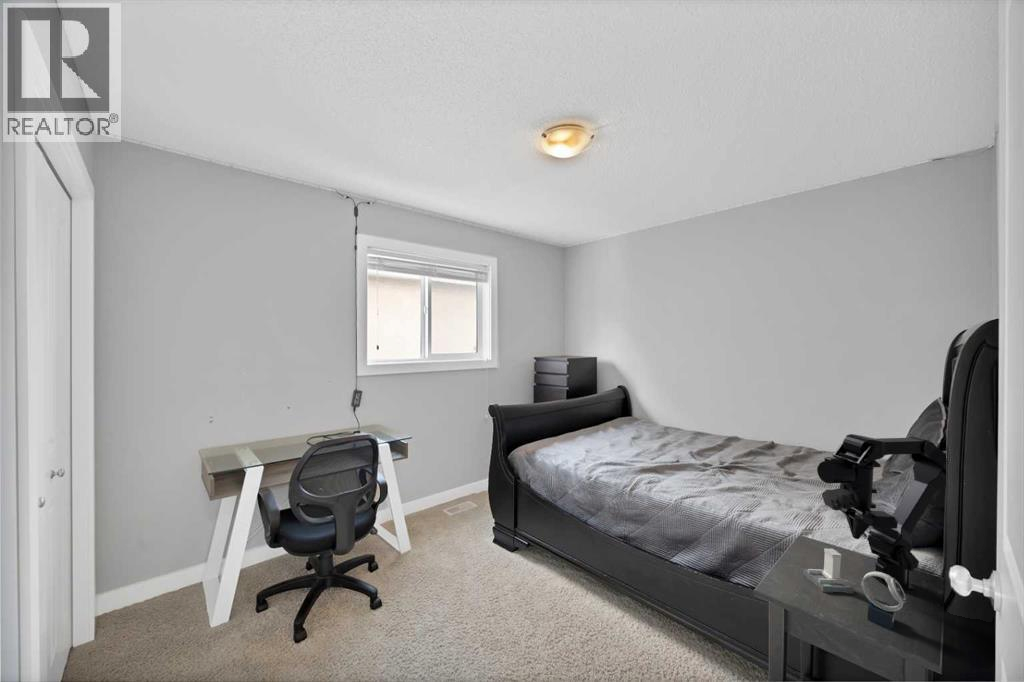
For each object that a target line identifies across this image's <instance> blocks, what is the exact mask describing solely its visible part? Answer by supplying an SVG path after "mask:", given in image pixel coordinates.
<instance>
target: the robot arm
mask: <svg viewBox="0 0 1024 682" xmlns="http://www.w3.org/2000/svg"><path fill="white" fill-rule="evenodd" d="M946 454H947V453H945V452H944V451H943V450H941V448H938V447H937V446H936V444H935V443H934V442H932V441H931V440H930V439H925V438H920V437H916V436H909V437H888V438H887V437H883V438H882V437H881V438H877V437H876V438H874V437H870V436H865V435H860V434H853V433H849V434H847V435H846V436H845V437H844V438H843V440H842V441H841V443H840V444H839V445H838V446H837V448H836V450H835V451H834V452H833V454H832V457H831V456H825V457H824V459H823V461H821V462H820V463H819V464H818V465H817V468H816V472H817V475H818V477H819V479H820V480H821V481H822V482H823V483H825V484H839V485H840V486H839V487H838V488H834V489H825V490H824V491H823V492H821V496H822V500H823V502H824V506H827V507H829V508H831V509H832V510H834V511H840V512H841V513H842V514H843V515H844V516H845V518H846V520H847V524H848V527H849V529H850V530H849V531H850V532H851V536H852V538H853V539H855V540H859V539H860V538H861V537H862V536H863V535H864V534H865V532H866V531H867V529H869V527H872V528H871V530H869V531H868V532H867V533H868V536H867V541H868V545H869V547H870V553H871V554H874V555H875V556H877V557H876V558H877V559H876V563H875V567H874V568H875V570H874V571H877V572H882V573H885V574H887V575H890V576H891V577H892V578H895V579H896V580H897V581H898V582H899V584H900V585H901V587H902V589H903V590H913V591H914V590H915V587H914V586H913V585H911V584H910V574H911V573H910V571H911V572H913V571H914V570H917V569H918V567H919V563H920V561H919V559H917V558H916V556H915V555H914V554H913V553H912V552H911V551H912V549H913V546H914V545H913V539H912V532H913V530H914V529H915V527H916V526H917V524H918V522H919V521H920V520H921V518H922V516H923V514H924V513H925V511H926V510H927V508H928V506H929V505H930V503H931V501H932V500H933V498H934V496H935V495H936V493H937V491H939V490H941V489H943V488H947V486H946ZM889 455H890V456H891V455H893V456H894V455H908V456H909V458H910V460H912V462H913V466H912V471H913V472H912V473H913V477H914V479H913V481H912V483H910V486H909V488H908V489H907V490H906V492H905V494H904V495H903V497H902V498H901V500H900V501H899V503H898V505H897V507H896V508H895V510H894V512H893V513H892V514H889V513H888V512H886V511H883V510H873V509H877V504H875V503H873V494H878V493H877V492H878V491H877V489H876V488H875V487H873V486H874V484H873V483H874V482H873V481H874V468H881V467H882V465H881V464H880V463H879V462H878V461H877V460H880V459H883V458H884V457H885V456H889ZM873 577H874V578H875V579H877V580H878V581H879V582H881V583H882V584H884V585H885V586H886V587H888V584H887V582H886V581H885V580H886V579H884V578H881V577H878V576H873Z"/></svg>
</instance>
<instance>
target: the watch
mask: <svg viewBox="0 0 1024 682" xmlns="http://www.w3.org/2000/svg"><path fill="white" fill-rule="evenodd" d="M874 576H878V577H881V578H884V579H886V580H885V581H886V582H887V584H888V586H887V587H888V588H887V589H888V590H889V592H890V594H891V596H892V597H893V598H894V599H895V601H896V602H898V605H892V604H889V603H887V602H884V601H882V600H879V599H876V598H874V595H873V593H872V592H871V590H870V588H869V585H868V582H867V578H869V577H874ZM861 588H862V591H863V593H864V595H865V597H866V599H868V601H869V605H868V606H867V620H868V621H869V622H871V623H875V624H877V625H879V626H881V627H884V628H886V629H888V630H891V631H892V630H893V627H894V623H895V620H896V612H897V611H900V610H901V609H902V608H903V606H904V603H907V596H906V594H905V591H904V589H902V587H901V585H900V584H899V582H898V581H897V580H896V579H895V578H892V577H891V576H890V575H887V574H885V573H882V572H877V571H875V570H873V571H869V572H867V573H865V575H864V577H863V578H862V579H861Z"/></svg>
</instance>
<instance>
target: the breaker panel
mask: <svg viewBox="0 0 1024 682" xmlns="http://www.w3.org/2000/svg"><path fill="white" fill-rule="evenodd" d="M822 571H824V569H819V568H818V569H815V568H805V569H803V570H802V575H803V576H804V577H806V578H807V579H808V581H810V582H811V583H812V582H813V583H814V584H815V587H817V586H818V587H817V588H818V589H819V588H820V589H821V590H822V591H823V592H822V591H821V590H820V589H819V590H820V591H821V592H822V593H833V592H848V593H847V594H853V593H855V587H853V586H852V585H851V584H850V580H849V579H844V578H842V577H841V576H840V578H841V579H827V578H826V577H825V576H824V575H822ZM813 583H812V584H813ZM814 584H813V585H814Z"/></svg>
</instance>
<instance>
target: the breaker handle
mask: <svg viewBox="0 0 1024 682" xmlns="http://www.w3.org/2000/svg"><path fill="white" fill-rule="evenodd" d="M823 551H824V560H823V561H824V563H823V570H824V571H822V575H824V576H825V577H826V578H827V579H841V578H842V577H841V561H842V556H843V555H842V554H841V553H840V552H838V551H837V550H835V549H833V548H823ZM840 577H841V578H840Z"/></svg>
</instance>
